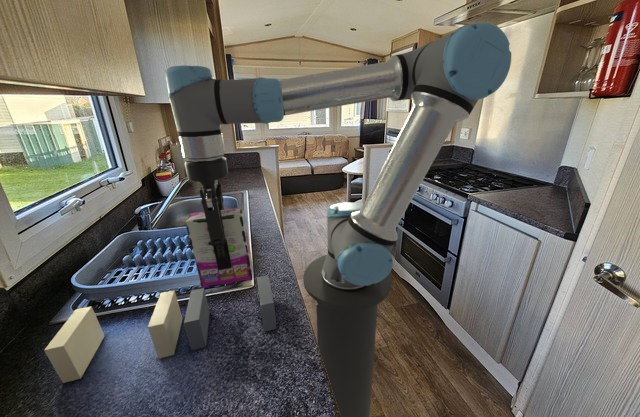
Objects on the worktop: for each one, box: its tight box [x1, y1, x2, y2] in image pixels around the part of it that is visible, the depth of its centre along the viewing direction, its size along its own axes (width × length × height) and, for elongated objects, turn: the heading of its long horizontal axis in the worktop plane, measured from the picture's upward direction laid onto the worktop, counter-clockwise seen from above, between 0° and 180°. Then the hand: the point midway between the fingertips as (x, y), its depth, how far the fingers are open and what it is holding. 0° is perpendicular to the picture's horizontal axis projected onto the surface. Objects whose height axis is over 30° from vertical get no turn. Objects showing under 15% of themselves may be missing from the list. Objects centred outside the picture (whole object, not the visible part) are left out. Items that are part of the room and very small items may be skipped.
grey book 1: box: [183, 287, 211, 351], centre depth 62 cm, size 3×11×8 cm, turn 17°
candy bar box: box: [184, 207, 254, 289], centre depth 57 cm, size 11×5×16 cm, turn 102°
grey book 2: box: [256, 274, 278, 332], centre depth 66 cm, size 3×11×8 cm, turn 17°
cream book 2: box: [147, 289, 184, 359], centre depth 60 cm, size 3×11×9 cm, turn 17°
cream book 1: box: [43, 306, 106, 384], centre depth 55 cm, size 3×11×9 cm, turn 17°
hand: (225, 260), depth 59 cm, fingers closed on candy bar box, 5 cm apart
